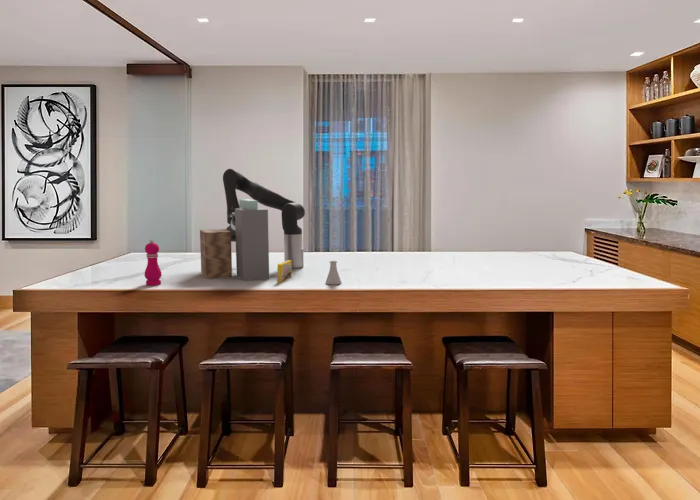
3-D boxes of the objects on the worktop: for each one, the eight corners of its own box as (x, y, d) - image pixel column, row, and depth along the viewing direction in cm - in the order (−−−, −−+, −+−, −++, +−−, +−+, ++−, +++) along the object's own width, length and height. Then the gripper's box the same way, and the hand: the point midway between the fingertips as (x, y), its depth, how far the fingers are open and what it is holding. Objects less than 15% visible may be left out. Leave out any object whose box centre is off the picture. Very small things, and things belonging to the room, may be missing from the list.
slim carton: (247, 207, 320) (247, 199, 320) (257, 209, 300) (257, 200, 299) (239, 207, 319) (239, 199, 318) (249, 209, 298) (248, 200, 298)
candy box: (281, 283, 291) (281, 264, 290) (277, 282, 292) (276, 264, 291) (292, 277, 307) (291, 259, 306) (287, 277, 308) (287, 259, 307)
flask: (324, 282, 291) (324, 260, 290) (341, 282, 292) (340, 260, 290) (325, 285, 284) (325, 262, 283) (342, 285, 284) (342, 262, 283)
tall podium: (261, 274, 317) (259, 207, 313) (269, 278, 302) (267, 209, 298) (236, 275, 313) (234, 208, 309) (243, 280, 298) (241, 210, 294)
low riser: (226, 272, 322) (224, 229, 320) (232, 277, 307) (230, 231, 305) (201, 274, 318) (199, 229, 315) (206, 278, 303) (204, 232, 301)
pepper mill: (165, 283, 291) (163, 238, 289) (155, 286, 284) (153, 240, 282) (151, 282, 293) (149, 238, 291) (141, 285, 286) (139, 239, 284)
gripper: (223, 215, 331) (228, 199, 317) (251, 214, 336) (257, 199, 322) (225, 228, 329) (230, 213, 315) (253, 227, 334) (259, 212, 320)
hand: (243, 206), depth 318 cm, fingers open, 8 cm apart
